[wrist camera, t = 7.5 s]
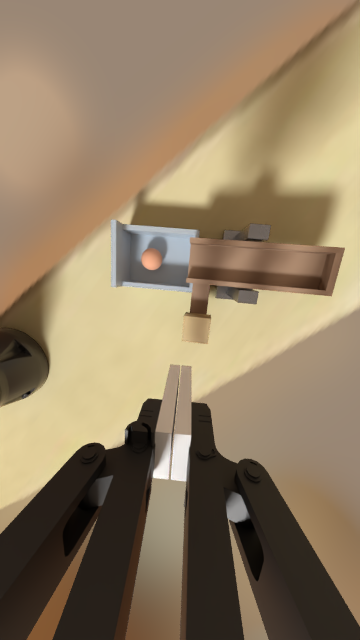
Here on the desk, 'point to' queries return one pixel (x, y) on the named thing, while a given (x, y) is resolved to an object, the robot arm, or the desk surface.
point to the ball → (151, 259)
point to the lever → (254, 273)
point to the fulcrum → (247, 234)
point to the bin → (137, 239)
